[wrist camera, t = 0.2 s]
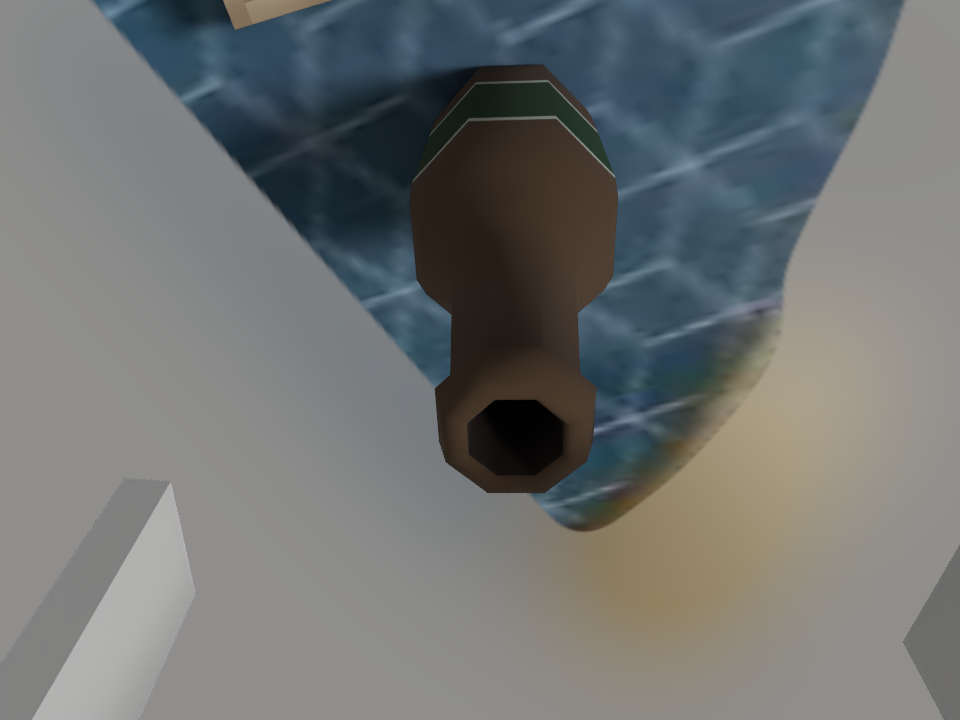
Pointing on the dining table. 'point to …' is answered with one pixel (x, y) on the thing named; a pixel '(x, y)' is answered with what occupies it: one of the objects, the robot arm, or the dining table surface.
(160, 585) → the robot arm
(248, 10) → the caddy
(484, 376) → the beer bottle
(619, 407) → the dining table surface
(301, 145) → the dining table surface
